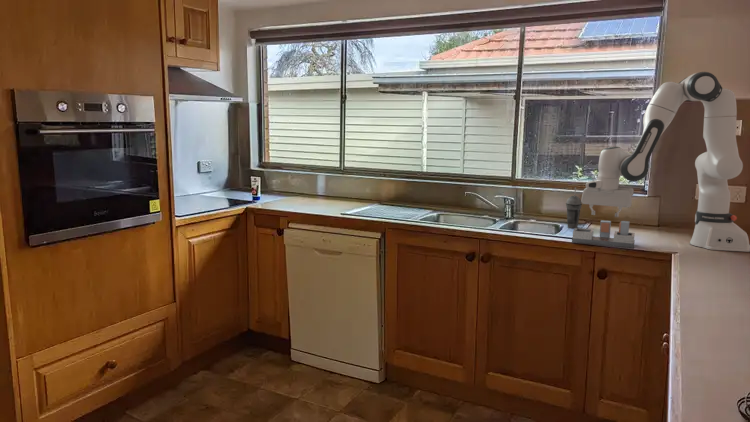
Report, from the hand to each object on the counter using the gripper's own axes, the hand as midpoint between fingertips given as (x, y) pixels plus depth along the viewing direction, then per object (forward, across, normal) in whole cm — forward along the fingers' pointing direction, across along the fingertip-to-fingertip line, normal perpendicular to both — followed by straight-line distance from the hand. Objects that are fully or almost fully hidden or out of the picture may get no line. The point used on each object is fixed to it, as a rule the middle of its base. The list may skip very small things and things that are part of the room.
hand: (604, 215), depth 234 cm
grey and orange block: (+10, -1, 0) cm, 10 cm away
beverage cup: (+11, +15, -22) cm, 29 cm away
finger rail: (+10, -1, +10) cm, 14 cm away
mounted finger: (+8, -9, +10) cm, 16 cm away
